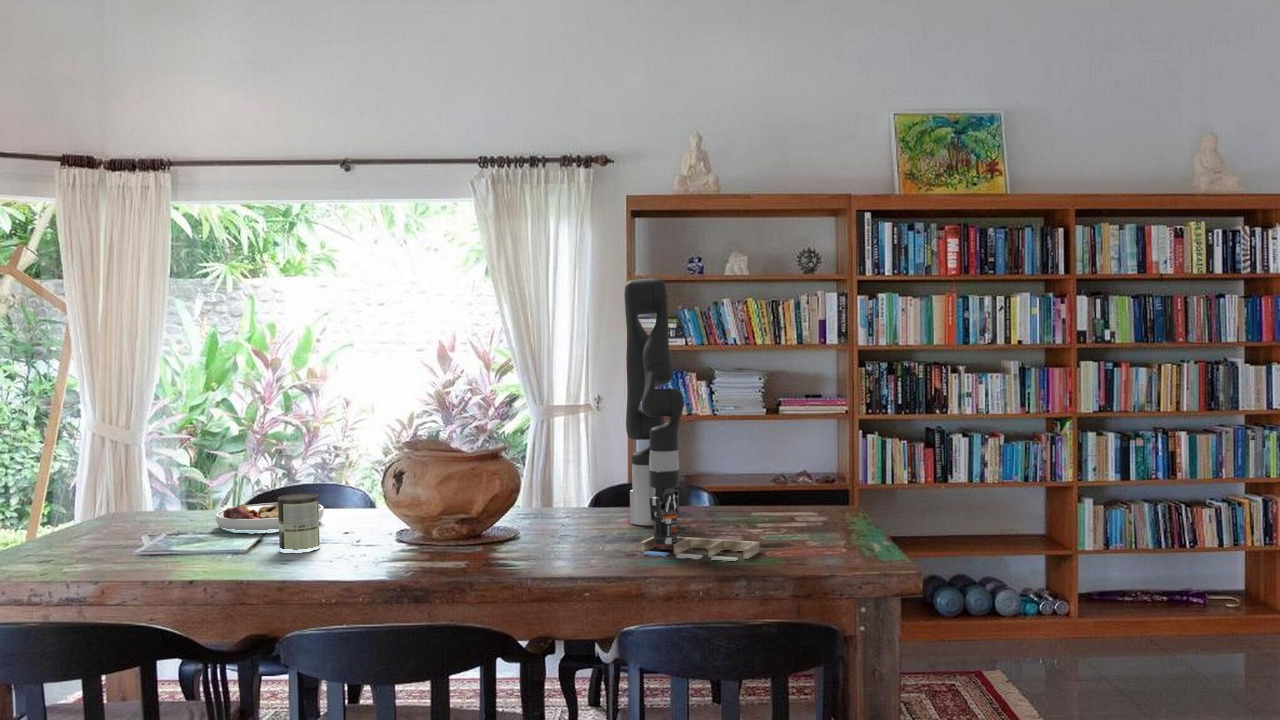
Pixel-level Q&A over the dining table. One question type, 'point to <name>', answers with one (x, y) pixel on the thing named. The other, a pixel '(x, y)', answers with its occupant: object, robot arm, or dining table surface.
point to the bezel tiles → (689, 556)
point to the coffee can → (298, 521)
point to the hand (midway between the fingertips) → (665, 534)
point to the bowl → (252, 517)
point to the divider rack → (707, 545)
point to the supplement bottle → (667, 530)
